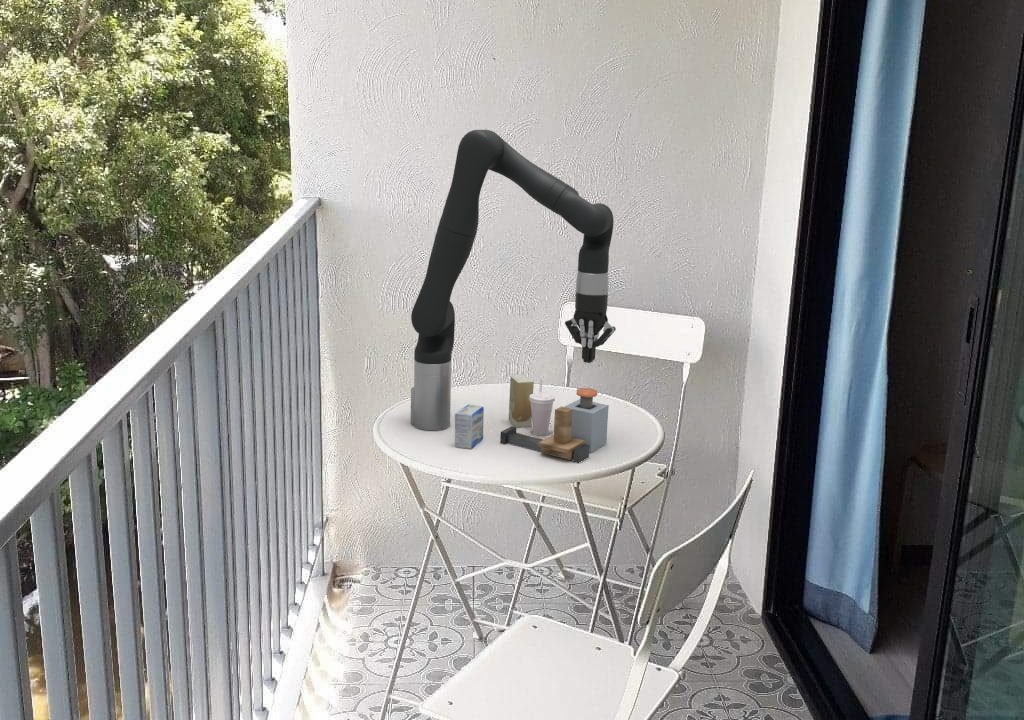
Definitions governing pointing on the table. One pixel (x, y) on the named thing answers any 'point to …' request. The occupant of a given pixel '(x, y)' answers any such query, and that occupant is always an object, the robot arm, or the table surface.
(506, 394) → the table surface
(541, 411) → the smoothie
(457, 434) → the medicine box
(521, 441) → the rail
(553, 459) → the table surface
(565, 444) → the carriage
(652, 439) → the table surface
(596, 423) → the grey button box
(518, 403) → the skincare box
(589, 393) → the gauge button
